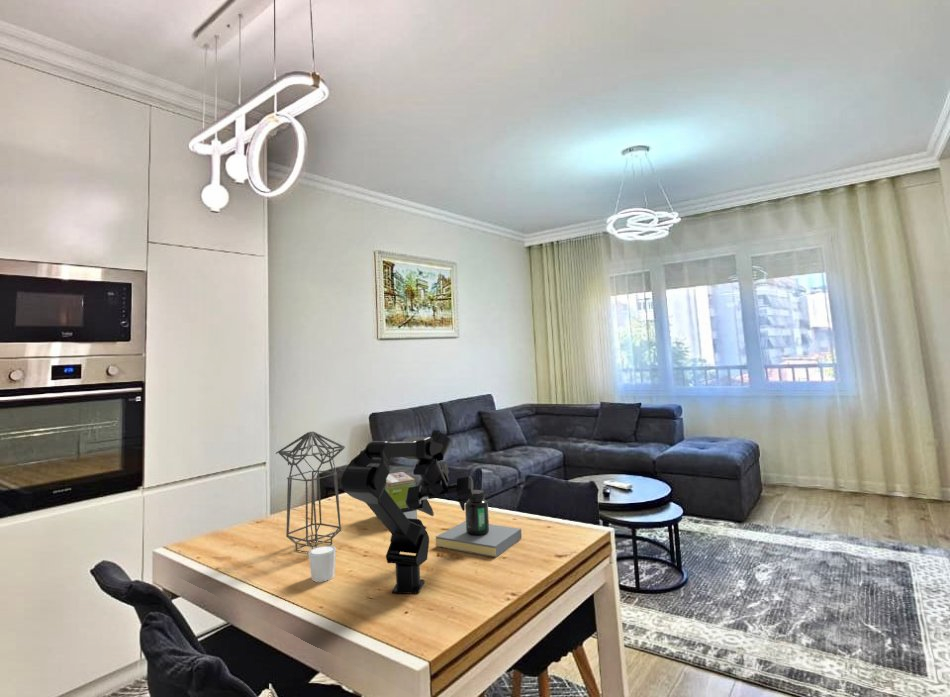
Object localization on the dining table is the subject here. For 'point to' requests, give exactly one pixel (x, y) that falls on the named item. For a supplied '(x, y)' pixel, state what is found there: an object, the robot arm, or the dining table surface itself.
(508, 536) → the gray hardcover book
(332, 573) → the white cylinder
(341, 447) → the geometric lantern
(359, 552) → the dining table surface
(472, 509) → the supplement bottle
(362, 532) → the dining table surface
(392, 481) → the tea box
